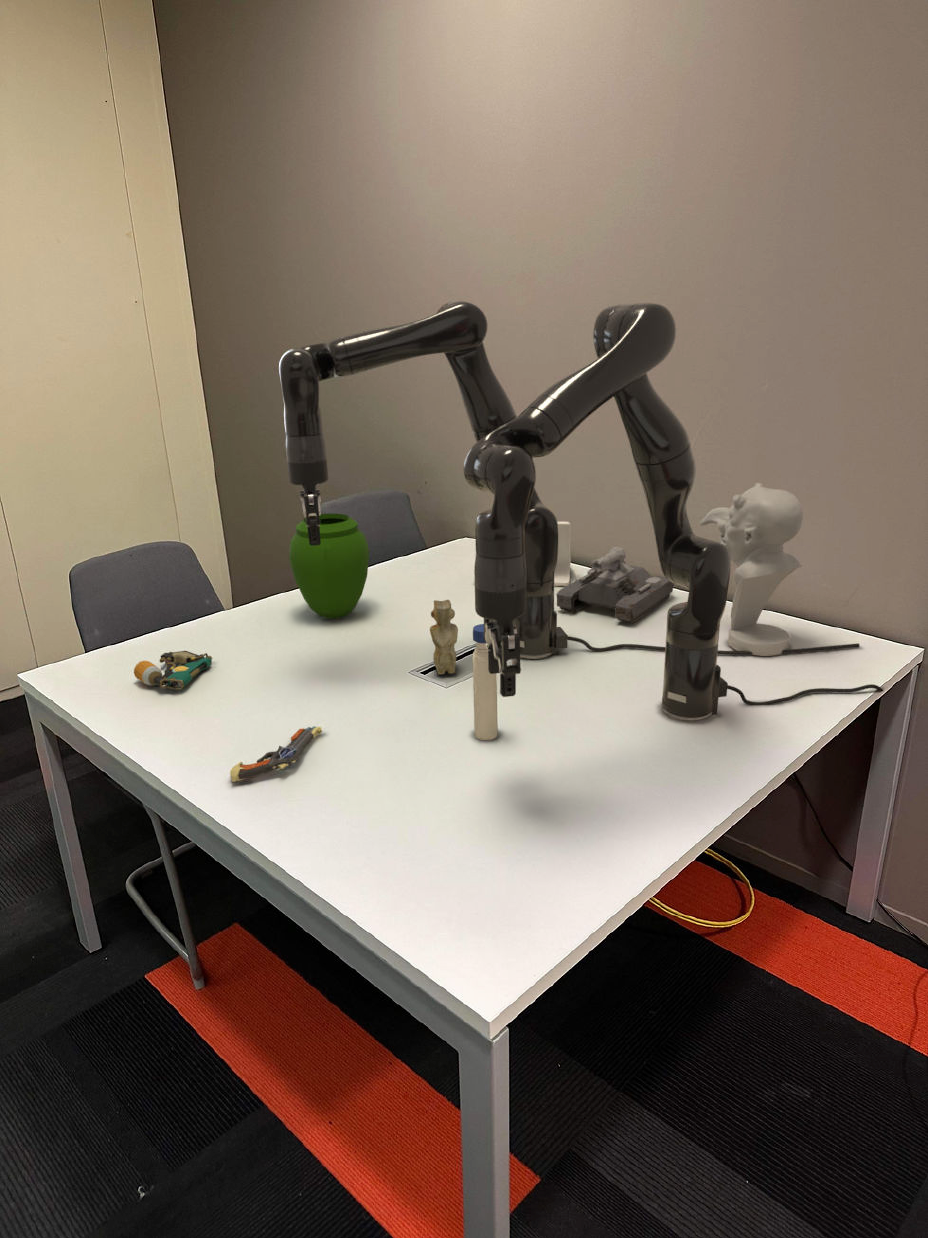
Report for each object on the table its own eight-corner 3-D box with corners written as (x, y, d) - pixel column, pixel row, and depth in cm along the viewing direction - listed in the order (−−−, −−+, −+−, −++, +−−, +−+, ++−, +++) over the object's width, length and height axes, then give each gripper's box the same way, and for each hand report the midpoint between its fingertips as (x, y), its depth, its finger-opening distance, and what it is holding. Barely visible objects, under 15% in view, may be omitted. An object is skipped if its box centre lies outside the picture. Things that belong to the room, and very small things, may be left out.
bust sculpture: (728, 615, 205) (741, 470, 193) (809, 647, 185) (829, 488, 173) (677, 628, 198) (686, 478, 186) (755, 663, 178) (772, 498, 166)
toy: (603, 584, 229) (605, 530, 224) (673, 597, 218) (677, 540, 213) (555, 612, 210) (556, 553, 205) (630, 627, 199) (633, 566, 194)
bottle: (478, 742, 150) (476, 635, 143) (471, 731, 154) (468, 627, 147) (500, 738, 152) (499, 632, 144) (493, 727, 155) (491, 624, 148)
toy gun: (224, 771, 138) (281, 769, 136) (271, 724, 156) (322, 721, 154) (228, 786, 139) (285, 784, 137) (273, 737, 157) (324, 735, 155)
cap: (477, 644, 144) (476, 633, 143) (470, 637, 148) (469, 625, 147) (498, 641, 145) (498, 630, 144) (490, 634, 149) (490, 622, 148)
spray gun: (177, 659, 191) (231, 671, 185) (120, 684, 176) (176, 698, 171) (176, 641, 190) (230, 653, 184) (118, 665, 175) (174, 678, 169)
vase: (389, 608, 216) (383, 514, 208) (339, 633, 201) (330, 533, 192) (330, 596, 226) (322, 506, 218) (278, 619, 211) (267, 523, 202)
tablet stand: (569, 585, 229) (570, 524, 223) (476, 584, 232) (475, 523, 226) (570, 566, 246) (571, 508, 240) (484, 564, 249) (483, 507, 243)
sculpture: (458, 662, 183) (456, 596, 178) (460, 676, 176) (457, 608, 171) (431, 663, 183) (428, 597, 177) (431, 677, 176) (428, 609, 171)
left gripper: (328, 462, 158) (335, 547, 164) (324, 450, 171) (331, 529, 177) (287, 465, 157) (295, 550, 162) (286, 452, 170) (294, 532, 176)
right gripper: (538, 595, 118) (537, 701, 124) (514, 566, 131) (514, 663, 137) (485, 600, 117) (487, 706, 122) (466, 570, 130) (468, 667, 135)
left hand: (314, 539), depth 170 cm, fingers open, 8 cm apart
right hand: (501, 683), depth 130 cm, fingers open, 8 cm apart
